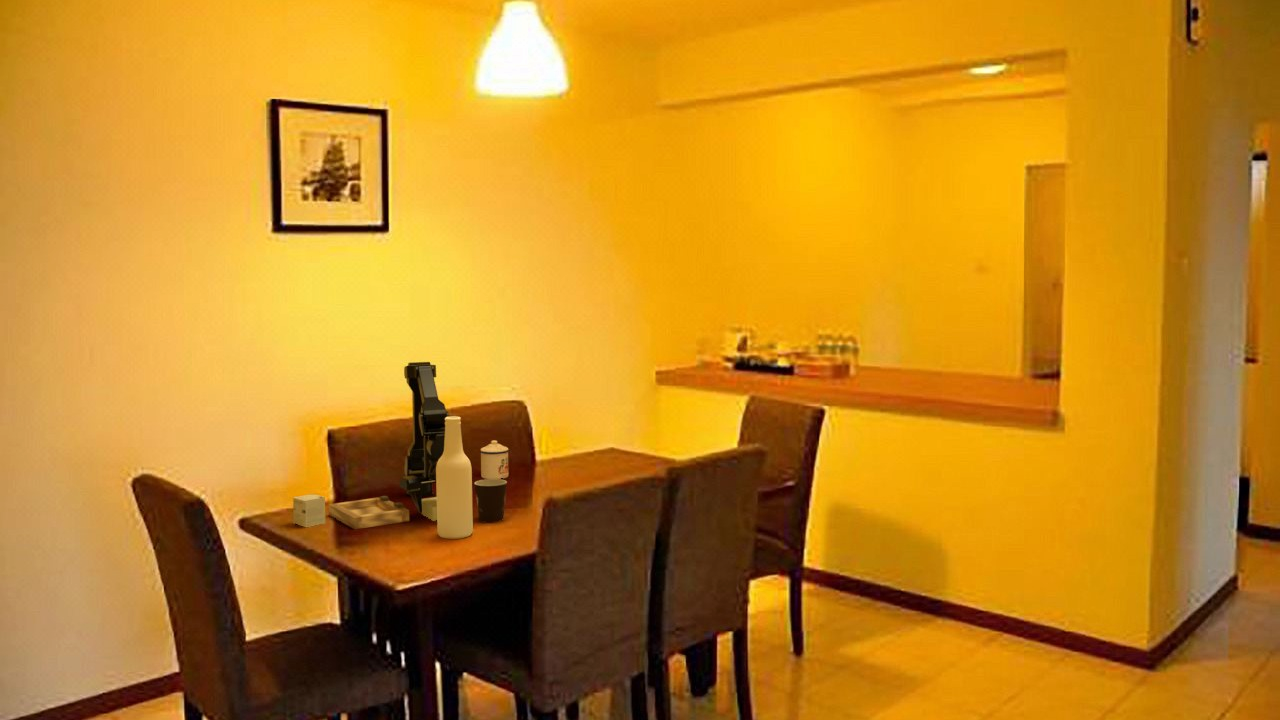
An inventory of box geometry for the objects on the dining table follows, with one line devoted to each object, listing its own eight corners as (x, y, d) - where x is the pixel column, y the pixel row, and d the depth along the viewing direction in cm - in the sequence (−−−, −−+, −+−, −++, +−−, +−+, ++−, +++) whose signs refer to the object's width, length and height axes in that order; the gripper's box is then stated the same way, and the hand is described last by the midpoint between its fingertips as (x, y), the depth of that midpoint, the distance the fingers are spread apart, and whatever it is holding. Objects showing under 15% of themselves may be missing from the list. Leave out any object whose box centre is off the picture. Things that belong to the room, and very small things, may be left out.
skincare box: (293, 524, 281) (292, 497, 280) (313, 520, 286) (312, 493, 285) (305, 528, 277) (304, 500, 276) (326, 524, 282) (325, 496, 281)
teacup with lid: (503, 480, 335) (502, 443, 334) (476, 479, 337) (475, 442, 336) (516, 472, 347) (515, 437, 346) (489, 471, 349) (489, 436, 348)
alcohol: (441, 530, 274) (439, 414, 271) (475, 530, 274) (473, 414, 271) (434, 539, 265) (431, 419, 262) (469, 539, 265) (466, 419, 262)
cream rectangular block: (439, 510, 297) (439, 496, 296) (454, 519, 287) (453, 504, 287) (418, 513, 294) (418, 499, 293) (432, 522, 284) (432, 507, 284)
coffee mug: (501, 524, 280) (500, 486, 279) (470, 522, 282) (469, 485, 281) (515, 513, 292) (514, 477, 291) (485, 512, 294) (484, 476, 293)
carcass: (381, 507, 300) (381, 493, 299) (409, 520, 284) (408, 506, 284) (329, 515, 291) (328, 500, 291) (354, 529, 276) (354, 514, 275)
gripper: (414, 462, 277) (416, 521, 278) (479, 454, 288) (480, 511, 289) (397, 456, 286) (399, 513, 287) (461, 448, 297) (462, 503, 298)
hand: (436, 510), depth 290 cm, fingers open, 9 cm apart
